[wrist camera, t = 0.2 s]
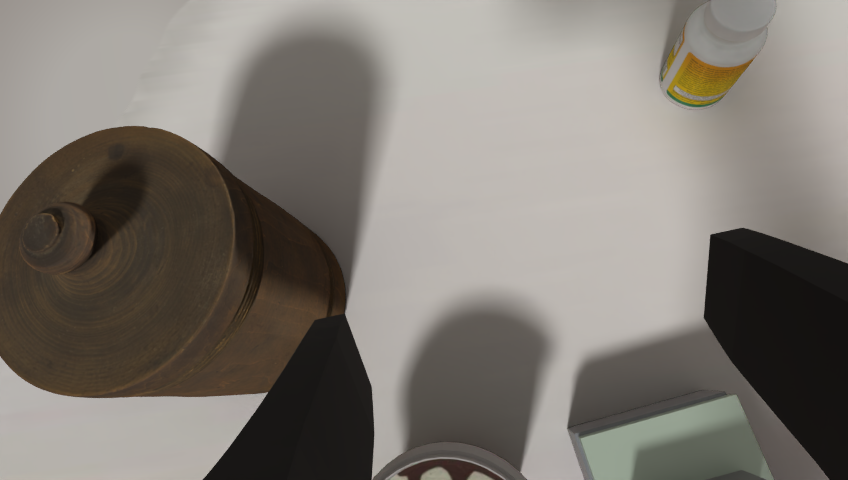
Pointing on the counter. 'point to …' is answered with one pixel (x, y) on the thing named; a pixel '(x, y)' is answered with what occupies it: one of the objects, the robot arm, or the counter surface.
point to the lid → (680, 446)
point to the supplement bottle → (715, 50)
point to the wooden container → (154, 273)
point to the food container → (448, 464)
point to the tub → (632, 416)
